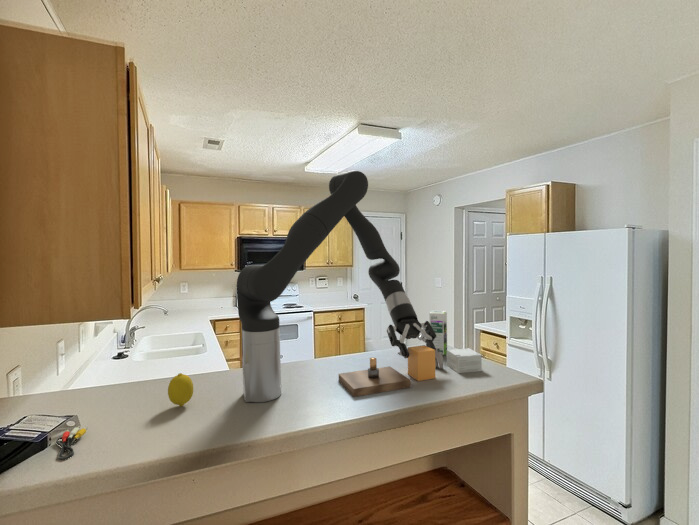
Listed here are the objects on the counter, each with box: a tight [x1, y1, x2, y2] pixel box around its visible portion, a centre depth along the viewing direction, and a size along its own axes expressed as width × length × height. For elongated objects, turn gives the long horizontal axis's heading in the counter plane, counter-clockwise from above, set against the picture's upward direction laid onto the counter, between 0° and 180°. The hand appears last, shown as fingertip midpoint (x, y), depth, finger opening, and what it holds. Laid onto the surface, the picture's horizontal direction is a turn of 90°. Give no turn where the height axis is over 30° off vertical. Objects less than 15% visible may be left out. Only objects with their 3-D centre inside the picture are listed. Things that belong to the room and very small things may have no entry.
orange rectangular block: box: [407, 344, 436, 382], centre depth 103 cm, size 6×6×8 cm
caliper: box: [397, 348, 444, 370], centre depth 118 cm, size 20×1×6 cm, turn 32°
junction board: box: [338, 365, 412, 398], centre depth 98 cm, size 16×12×2 cm
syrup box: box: [429, 310, 448, 356], centre depth 126 cm, size 6×6×14 cm
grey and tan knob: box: [367, 357, 379, 379], centre depth 98 cm, size 3×3×5 cm
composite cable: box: [55, 425, 89, 461], centre depth 69 cm, size 10×5×2 cm, turn 22°
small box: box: [446, 347, 483, 374], centre depth 110 cm, size 8×8×5 cm
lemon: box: [167, 372, 194, 407], centre depth 86 cm, size 6×6×8 cm
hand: (420, 355), depth 104 cm, fingers open, 8 cm apart
